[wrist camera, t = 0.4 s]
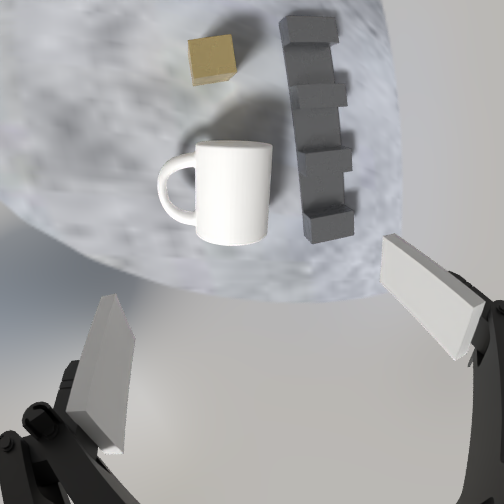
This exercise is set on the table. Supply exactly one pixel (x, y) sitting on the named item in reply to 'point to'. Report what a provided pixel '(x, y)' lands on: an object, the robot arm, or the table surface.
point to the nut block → (211, 59)
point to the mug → (224, 190)
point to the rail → (317, 125)
